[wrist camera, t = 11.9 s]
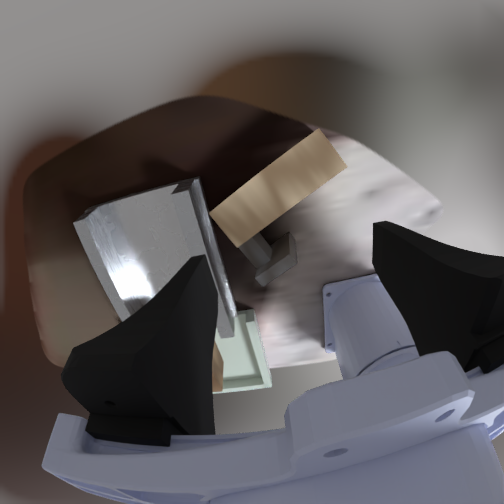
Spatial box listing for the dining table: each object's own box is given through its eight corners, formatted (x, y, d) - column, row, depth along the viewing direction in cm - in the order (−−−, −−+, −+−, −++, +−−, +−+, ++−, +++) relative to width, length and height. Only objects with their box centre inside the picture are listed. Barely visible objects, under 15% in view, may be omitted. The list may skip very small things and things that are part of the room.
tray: (271, 375, 32) (272, 386, 30) (169, 385, 33) (167, 395, 31) (253, 308, 26) (254, 321, 25) (131, 325, 27) (126, 336, 26)
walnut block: (223, 361, 30) (222, 391, 26) (189, 364, 30) (185, 393, 26) (213, 337, 28) (210, 368, 24) (176, 341, 28) (170, 371, 24)
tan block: (267, 259, 24) (357, 194, 21) (262, 287, 19) (377, 206, 16) (221, 203, 23) (312, 133, 20) (204, 217, 18) (320, 126, 15)
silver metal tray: (238, 311, 27) (237, 336, 24) (143, 323, 27) (135, 347, 24) (200, 176, 20) (192, 189, 17) (89, 207, 21) (70, 223, 18)
